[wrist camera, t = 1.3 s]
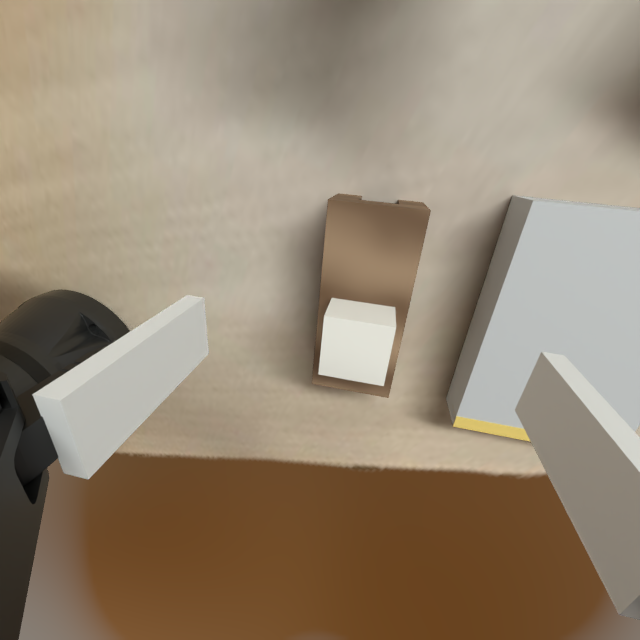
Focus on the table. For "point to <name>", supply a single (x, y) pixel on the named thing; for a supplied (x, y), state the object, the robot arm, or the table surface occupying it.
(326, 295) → the notched wooden block
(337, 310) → the small white block
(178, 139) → the table surface
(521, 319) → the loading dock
